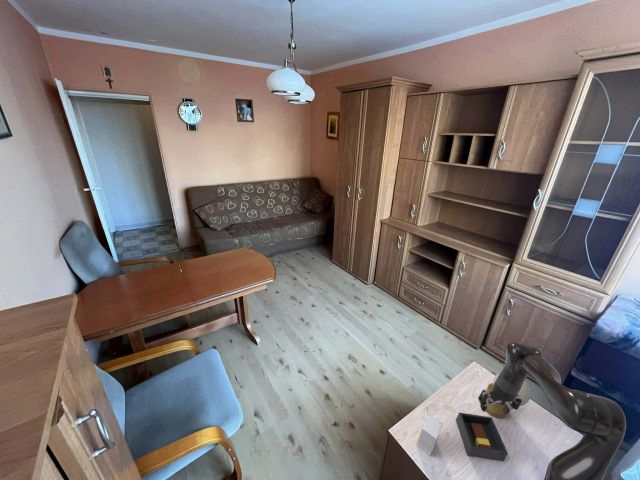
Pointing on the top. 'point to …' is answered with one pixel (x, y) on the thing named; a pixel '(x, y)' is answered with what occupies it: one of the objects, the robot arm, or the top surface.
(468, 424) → the dark gray rectangular tray
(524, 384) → the lamp
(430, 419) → the small box
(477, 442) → the chocolate bar
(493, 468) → the top surface
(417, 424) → the top surface
